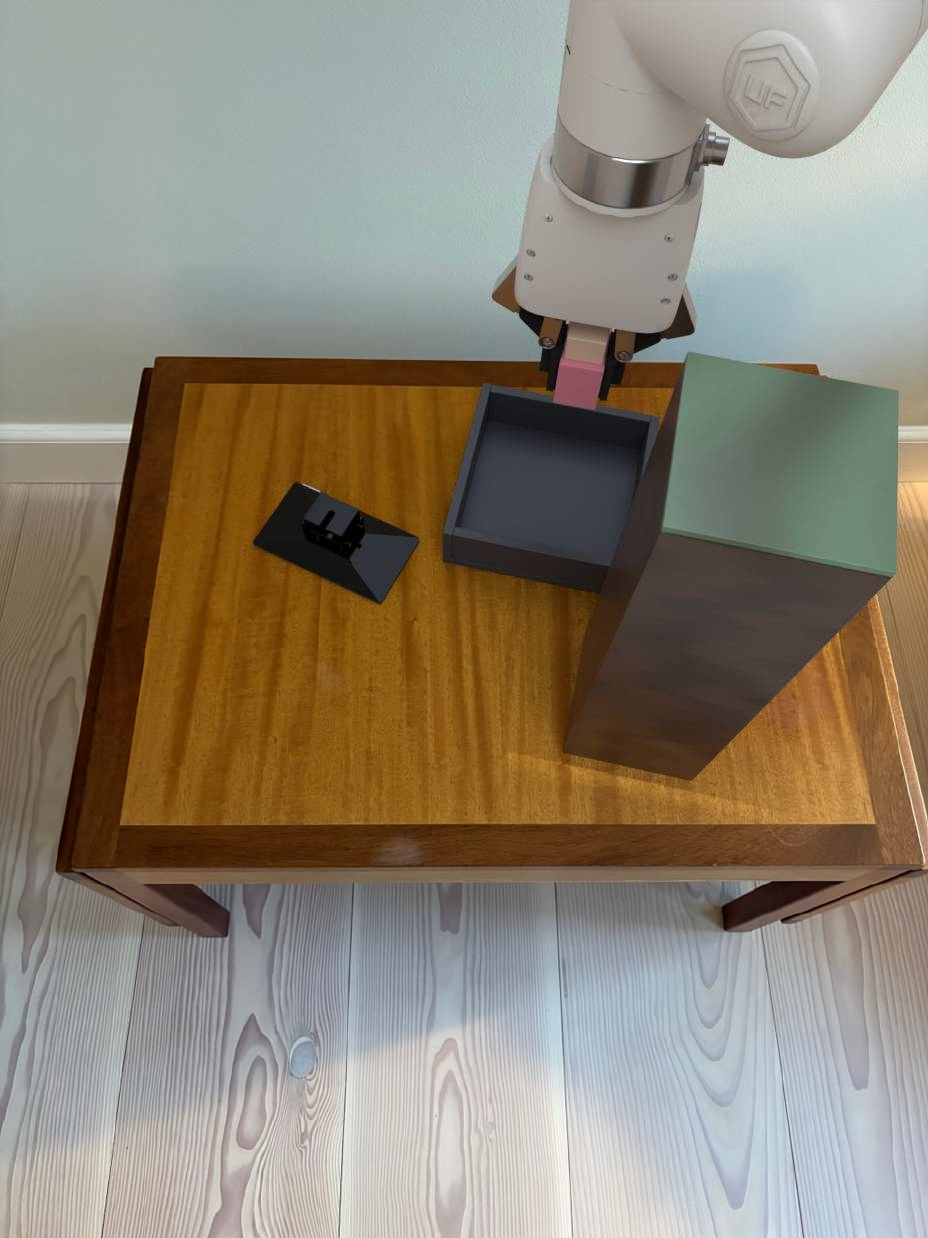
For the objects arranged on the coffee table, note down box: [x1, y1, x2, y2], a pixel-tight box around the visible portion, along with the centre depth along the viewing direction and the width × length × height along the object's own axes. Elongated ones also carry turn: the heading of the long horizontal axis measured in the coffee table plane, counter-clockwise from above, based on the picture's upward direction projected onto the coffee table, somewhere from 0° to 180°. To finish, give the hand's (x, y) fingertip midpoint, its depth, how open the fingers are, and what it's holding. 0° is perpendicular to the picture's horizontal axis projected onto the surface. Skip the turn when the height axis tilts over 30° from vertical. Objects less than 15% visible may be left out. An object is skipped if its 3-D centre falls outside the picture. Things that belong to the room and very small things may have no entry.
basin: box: [442, 382, 661, 595], centre depth 76 cm, size 16×16×5 cm
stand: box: [562, 351, 900, 782], centre depth 55 cm, size 10×10×34 cm
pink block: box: [553, 321, 613, 410], centre depth 61 cm, size 3×4×6 cm
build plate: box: [252, 481, 420, 605], centre depth 74 cm, size 12×7×5 cm, turn 63°
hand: (579, 378), depth 63 cm, fingers closed on pink block, 3 cm apart
